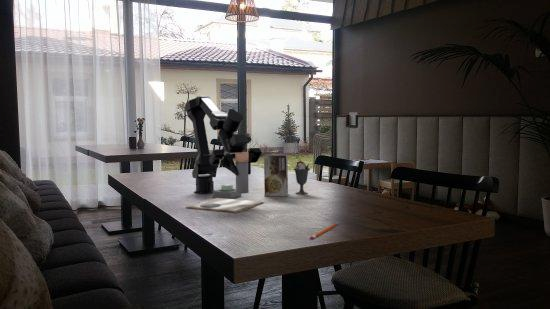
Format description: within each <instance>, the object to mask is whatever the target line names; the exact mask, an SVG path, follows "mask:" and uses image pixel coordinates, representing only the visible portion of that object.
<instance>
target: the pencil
mask: <svg viewBox="0 0 550 309" xmlns="http://www.w3.org/2000/svg"><path fill="white" fill-rule="evenodd" d="M338 225H339V222H335V223H333V224H331V225H330V226H328V227H326V228H324V229H323V230H320V231H319V232H317V233H315V234H313V235H312V236H310V238H309V240H314V238H315V239H316V238H318V237H320V236H321V235H323V234H325V233H327V232H328V231H330V230H331V229H333V228H335V227H337V226H338ZM326 231H327V232H326ZM324 232H325V233H324ZM319 235H320V236H319ZM317 236H318V237H317Z"/></svg>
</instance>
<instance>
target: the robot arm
mask: <svg viewBox="0 0 550 309" xmlns="http://www.w3.org/2000/svg"><path fill="white" fill-rule="evenodd" d="M184 109H185V112H186V116H187V118H188V119H189V120H190V121H191V123H192V126H193V134H194V140H195V146H196V152H197V156H196V158H195V160H194V167H193V169H192V172H191V176H192V178H193V179H195V190H194V191H193V193H194V194H195V193H196V194H206V195H207V194H210V193H213V191H215V189H214V186H215V185H214V178H216V177H217V171H218V166H219V165H220V167H223V168H225V169H227V170H228V171H229V172H231V173H232V174H233V175H235V177H236V176H238V174H239V173H238V170H237V168H236V162H235V153H236V152H244V150H245V148H246V147H245V146H246V145H247V144H250V142H252V135H250V133H248V132H246V133H237V134H235V133H236V132H238V131H239V129H240V127H241V124H242V122H243V121H244V115H243V114H242V113H240V112H239V111H236V109H235V108H229V109H228V113H227V112H224V111H221V110H220V109H219V108H218V107H217V105H215V103H214V102H213V101H212V100H211V97H210V96H209V95H197V96H196V97H194V98H192V99H189V100H188V101H186V102H185V104H184ZM206 116H207V117H208V119H209V126H210V127H211V129H212V130H213V131H218V133H217V138H216V139H217V141H220V143H221V144H222V147H221V149H217V148H216V149H213V150H212V152H210V149H209V143H208V138H207V137H208V136H207V130H206V125H205V118H206ZM247 152H248V154H249V161H248V176H250V175H251V173H252V172H251V171H252V170H251V169H252V168H251V166H252V165H251V164H256V163H257V162H258V161H259V159H260V158H261V155H262V154H263V151H262V150H261V148H260V147H249V149H248V151H247Z"/></svg>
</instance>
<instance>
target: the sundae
mask: <svg viewBox="0 0 550 309" xmlns="http://www.w3.org/2000/svg"><path fill="white" fill-rule="evenodd" d="M295 158H296V159H297V162H296V165H295V166H294V168H293V171H294V173H295V180H296V183H297V184H298V185H300V186H299V187H300V188H299V191H296V192H295V194H296V195H301V196H302V195H308V192H306V191H304V185H306V183H307V181H308V176H309V174H308V173H309V171H311V168H310V166H309V165H310V163H308V164H306V163H305V162H304V161H303V160H301V159H300V158H299V157H298V156H296V157H295Z"/></svg>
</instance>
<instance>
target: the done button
mask: <svg viewBox="0 0 550 309" xmlns="http://www.w3.org/2000/svg"><path fill="white" fill-rule="evenodd" d="M221 189H222V191H226V192H231V191H233V189H234V184H228V183H227V184H221Z"/></svg>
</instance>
